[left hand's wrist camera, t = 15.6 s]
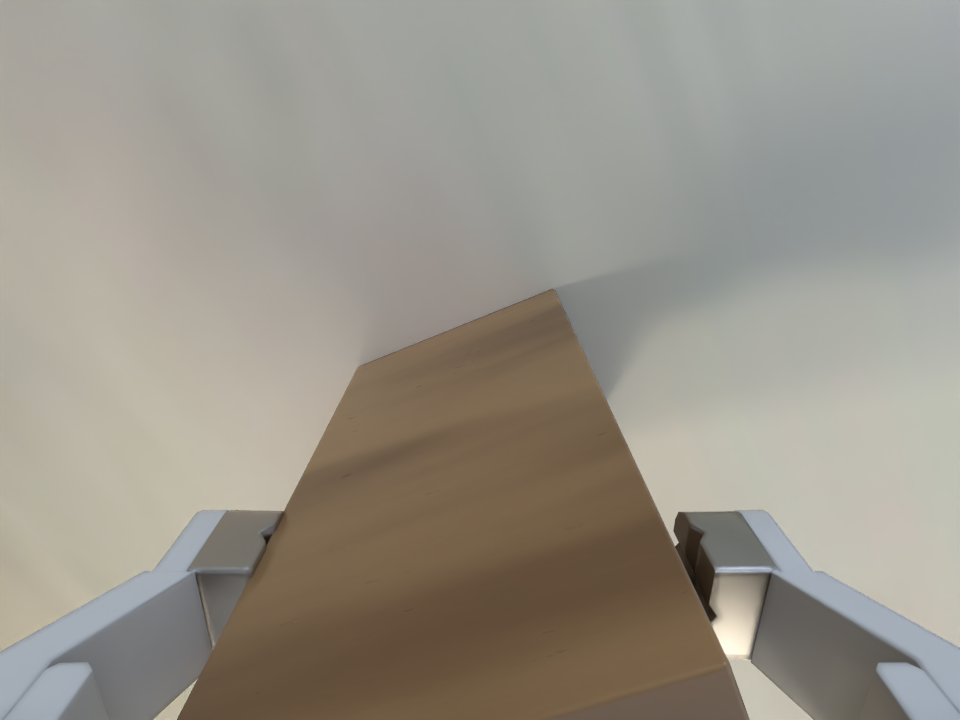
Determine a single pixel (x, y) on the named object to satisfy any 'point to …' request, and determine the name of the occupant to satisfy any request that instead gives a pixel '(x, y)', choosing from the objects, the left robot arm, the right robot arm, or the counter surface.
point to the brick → (471, 554)
